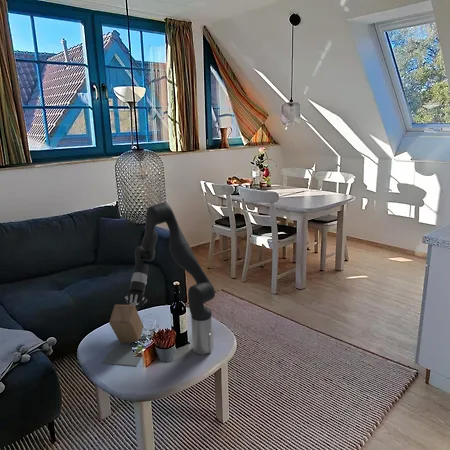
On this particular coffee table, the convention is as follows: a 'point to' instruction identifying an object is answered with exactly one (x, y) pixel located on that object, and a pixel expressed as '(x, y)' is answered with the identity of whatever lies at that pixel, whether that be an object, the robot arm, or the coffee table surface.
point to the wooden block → (126, 323)
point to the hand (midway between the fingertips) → (131, 316)
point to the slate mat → (122, 356)
